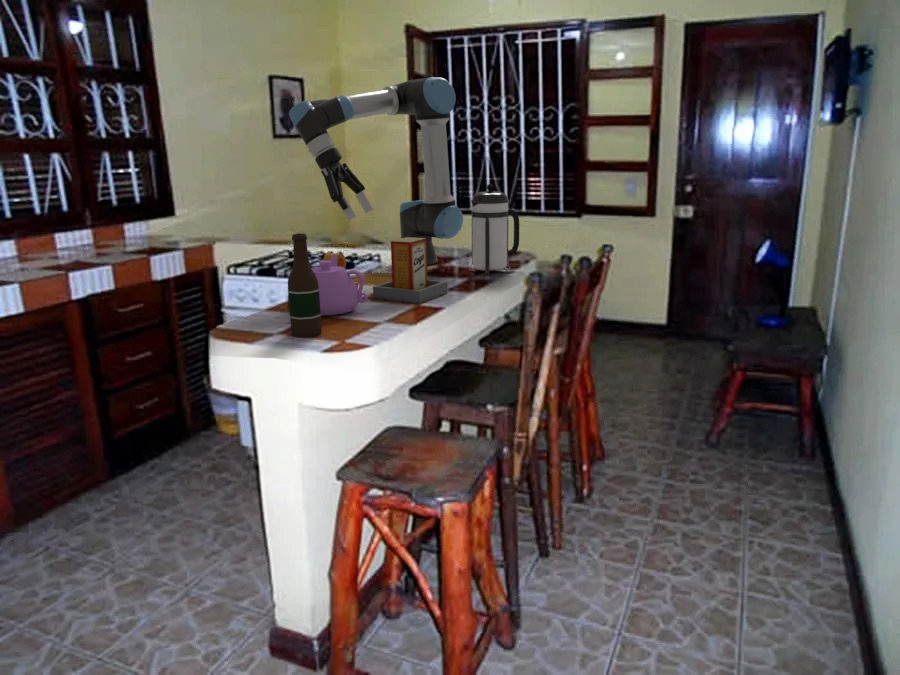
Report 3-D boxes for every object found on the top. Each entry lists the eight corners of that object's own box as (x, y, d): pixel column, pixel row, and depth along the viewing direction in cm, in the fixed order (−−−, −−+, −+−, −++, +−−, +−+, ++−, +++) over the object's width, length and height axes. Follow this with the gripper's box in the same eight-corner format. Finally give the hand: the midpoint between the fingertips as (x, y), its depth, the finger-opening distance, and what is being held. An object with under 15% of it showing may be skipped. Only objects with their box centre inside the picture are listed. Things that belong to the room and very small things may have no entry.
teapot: (374, 300, 203) (372, 253, 199) (364, 318, 182) (361, 266, 178) (299, 301, 203) (295, 253, 200) (280, 319, 183) (276, 267, 179)
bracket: (338, 297, 207) (336, 257, 204) (319, 295, 211) (316, 256, 207) (359, 290, 216) (357, 252, 213) (340, 288, 220) (338, 250, 216)
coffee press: (509, 276, 234) (510, 185, 226) (463, 275, 238) (462, 185, 230) (519, 267, 250) (520, 182, 242) (475, 266, 254) (475, 182, 246)
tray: (403, 288, 219) (402, 277, 218) (447, 292, 211) (447, 281, 210) (373, 298, 205) (372, 286, 204) (419, 303, 198) (419, 291, 197)
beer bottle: (285, 337, 166) (276, 236, 159) (297, 328, 173) (289, 231, 167) (316, 338, 164) (309, 236, 158) (327, 329, 172) (320, 231, 165)
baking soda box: (409, 288, 213) (407, 235, 209) (427, 289, 211) (426, 236, 206) (392, 294, 205) (390, 240, 201) (411, 296, 202) (410, 241, 198)
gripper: (332, 155, 222) (367, 214, 225) (296, 162, 199) (335, 227, 203) (351, 143, 219) (385, 202, 222) (316, 149, 196) (355, 215, 200)
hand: (361, 214), depth 212 cm, fingers open, 13 cm apart
